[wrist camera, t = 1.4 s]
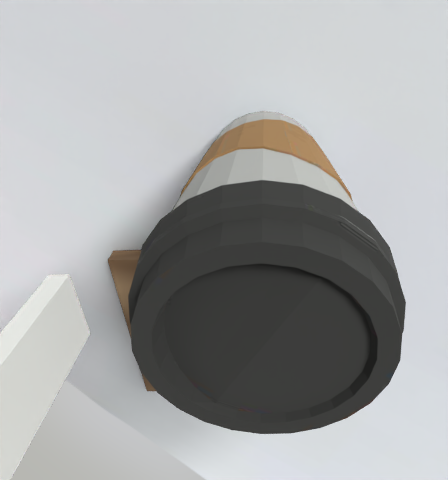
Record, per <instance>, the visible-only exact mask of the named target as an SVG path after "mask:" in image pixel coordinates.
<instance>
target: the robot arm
mask: <svg viewBox="0 0 448 480" xmlns="http://www.w3.org/2000/svg"><path fill="white" fill-rule="evenodd" d="M90 334H91V333H90V330H89V327H88V325H87V322H86V319H85V316H84V313H83V311H82V308H81V305H80V302H79V299H78V297H77V294H76V291H75V288H74V285H73V283H72V280H71V277H70V274H63V275H48V276H47V278H46V279H45V280H44V281H43V282H42V284H41V285H40V286H39V287H38V288H37V290H36V291H35V292H34V293H33V294H32V296H31V297H30V298H29V299H28V300H27V302H26V303H25V304H24V305H23V306H22V308H21V309H20V310H19V311H18V312H17V314H16V315H15V316H14V317H13V318H12V320H11V321H10V322H9V323H8V324H7V326H6V327H5V328H4V329H3V331H2V332H1V333H0V480H11V478H12V477H13V475H14V473H15V471H16V469H17V467H18V466H19V464H20V462H21V460H22V458H23V456H24V455H25V453H26V451H27V449H28V447H29V445H30V443H31V442H32V440H33V438H34V436H35V435H36V433H37V431H38V429H39V427H40V425H41V424H42V422H43V420H44V418H45V416H46V414H47V412H48V411H49V409H50V407H51V405H52V403H53V402H54V400H55V398H56V396H57V394H58V392H59V391H60V389H61V387H62V385H63V383H64V381H65V380H66V378H67V376H68V374H69V372H70V371H71V369H72V367H73V365H74V363H75V361H76V360H77V358H78V356H79V354H80V352H81V350H82V349H83V347H84V345H85V343H86V341H87V339H88V338H89V336H90Z"/></svg>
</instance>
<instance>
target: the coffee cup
mask: <svg viewBox="0 0 448 480" xmlns="http://www.w3.org/2000/svg"><path fill="white" fill-rule="evenodd" d="M128 304H129V319H130V324H131V341H132V351H133V354H134V356H135V358H136V361H137V363H138V365H139V368H140V370H141V373H142V374H143V375H144V376H145V378H146V379H147V380H148V381H149V383H150V384H151V385H152V386H153V387H154V389H155V390H156V391H157V392H158V393H159V394H160V395H161V396H163V397H164V398H165V399H167V400H168V401H169V402H170V403H172V404H173V405H174V406H176V407H177V408H178V409H180V410H182V411H184V412H186V413H188V414H190V415H192V416H194V417H196V418H198V419H200V420H202V421H204V422H207V423H211V424H214V425H217V426H221V427H224V428H227V429H231V430H237V431H244V432H251V433H259V434H278V433H295V432H300V431H306V430H312V429H317V428H321V427H324V426H327V425H329V424H332V423H335V422H337V421H340V420H343V419H345V418H348V417H349V416H351V415H352V414H354V413H356V412H357V411H359V410H360V409H362V408H364V407H365V406H367V405H368V404H370V403H371V402H372V401H373V400H374V399H375V398H376V397H377V396H378V395H379V394H380V393H381V392H382V390H383V389H384V388H385V387H386V386H387V385H388V384H389V382H390V380H391V378H392V376H393V374H394V372H395V370H396V368H397V366H398V364H399V362H400V355H401V342H402V333H403V330H404V318H405V305H406V302H405V298H404V295H403V292H402V288H401V285H400V282H399V278H398V273H397V270H396V267H395V263H394V260H393V257H392V253H391V250H390V247H389V246H388V244H387V243H386V241H385V240H384V239H383V237H382V236H381V235H380V233H379V232H378V231H377V229H376V228H375V226H374V225H373V224H372V222H371V221H370V220H369V219H368V218H366V217H365V216H363V215H362V214H361V213H359V211H358V210H357V208H356V207H355V205H354V203H353V202H352V198H351V194H350V192H349V191H348V189H347V188H346V186H345V185H344V183H343V182H342V180H341V179H340V177H339V175H338V174H337V172H336V171H335V169H334V168H333V166H332V165H331V163H330V162H329V160H328V159H327V157H326V155H325V154H324V152H323V151H322V150H321V148H320V147H319V145H318V144H317V143H316V141H315V140H314V139H313V137H312V136H311V135H310V134H309V133H308V131H307V130H306V129H305V127H303V126H302V125H301V124H299V123H298V122H297V121H295V120H294V119H293V118H291V117H288V116H286V115H283V114H281V113H277V112H268V111H260V112H254V113H248V114H246V115H244V116H242V117H240V118H237V119H235V120H234V121H233V122H231V123H230V124H229V125H228V126H227V127H225V128H224V129H223V130H222V132H221V133H220V135H219V136H218V138H217V139H216V140H215V142H214V143H213V144H212V146H211V147H210V148H209V150H208V151H207V153H206V154H205V156H204V157H203V159H202V160H201V162H200V163H199V165H198V166H197V168H196V170H195V171H194V173H193V174H192V176H191V177H190V179H189V180H188V182H187V184H186V185H185V187H184V188H183V190H182V192H181V195H180V198H179V200H178V202H177V203H176V205H175V206H174V208H173V210H172V211H171V212H170V213H169V214H168V215H166V216H165V217H164V218H162V219H161V220H160V221H159V223H158V224H157V225H156V227H155V228H154V230H153V231H152V233H151V234H150V235H149V237H148V238H147V240H146V241H145V243H144V244H143V246H142V249H141V253H140V256H139V260H138V263H137V267H136V270H135V274H134V277H133V281H132V284H131V288H130V291H129V295H128Z"/></svg>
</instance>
